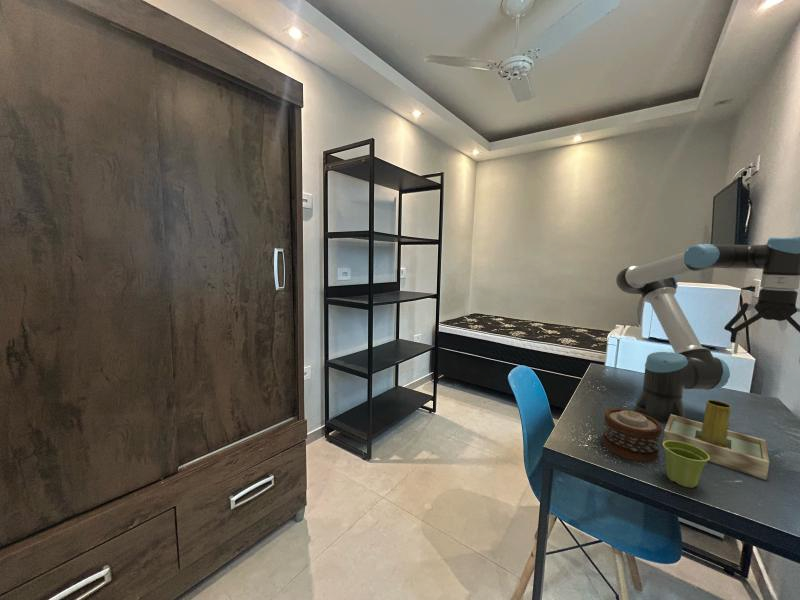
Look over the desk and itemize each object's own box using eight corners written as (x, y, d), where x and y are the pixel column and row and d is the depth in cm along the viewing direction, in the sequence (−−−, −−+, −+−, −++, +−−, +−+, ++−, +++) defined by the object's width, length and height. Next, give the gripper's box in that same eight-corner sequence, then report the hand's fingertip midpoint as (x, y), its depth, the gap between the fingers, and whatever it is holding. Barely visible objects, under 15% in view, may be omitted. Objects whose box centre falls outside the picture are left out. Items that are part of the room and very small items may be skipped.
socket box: (662, 445, 103) (664, 430, 102) (669, 427, 114) (670, 414, 113) (766, 480, 87) (769, 462, 87) (762, 455, 98) (765, 440, 98)
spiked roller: (664, 413, 101) (663, 433, 90) (660, 446, 102) (658, 469, 91) (608, 399, 110) (601, 415, 99) (605, 429, 112) (597, 448, 100)
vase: (706, 440, 104) (713, 398, 102) (730, 451, 98) (738, 406, 97) (693, 443, 102) (700, 400, 100) (717, 454, 97) (725, 409, 95)
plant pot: (652, 466, 92) (656, 437, 91) (692, 472, 90) (696, 443, 89) (668, 488, 84) (673, 456, 82) (714, 496, 81) (719, 464, 80)
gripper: (720, 286, 104) (710, 351, 106) (851, 294, 86) (836, 371, 89) (720, 285, 109) (711, 347, 112) (844, 292, 91) (830, 365, 94)
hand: (766, 358), depth 100 cm, fingers open, 13 cm apart
